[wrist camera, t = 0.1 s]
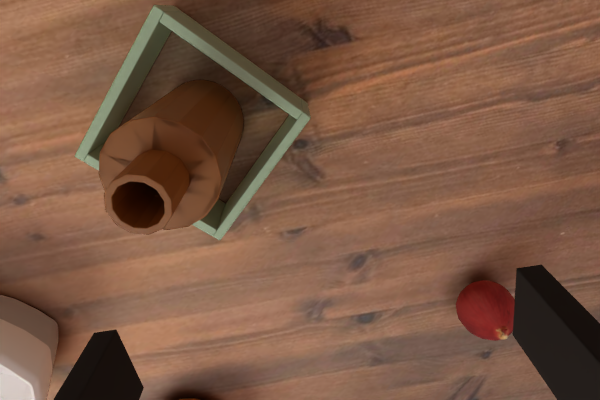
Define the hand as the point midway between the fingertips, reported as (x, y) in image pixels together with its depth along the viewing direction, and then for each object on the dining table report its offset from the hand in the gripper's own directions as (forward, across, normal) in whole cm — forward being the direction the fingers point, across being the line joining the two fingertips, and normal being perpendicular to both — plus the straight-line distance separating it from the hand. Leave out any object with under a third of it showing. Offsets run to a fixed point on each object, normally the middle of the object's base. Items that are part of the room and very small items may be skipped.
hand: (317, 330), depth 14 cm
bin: (+27, -8, +2) cm, 28 cm away
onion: (+27, +16, -22) cm, 38 cm away
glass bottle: (+27, -8, +2) cm, 28 cm away
